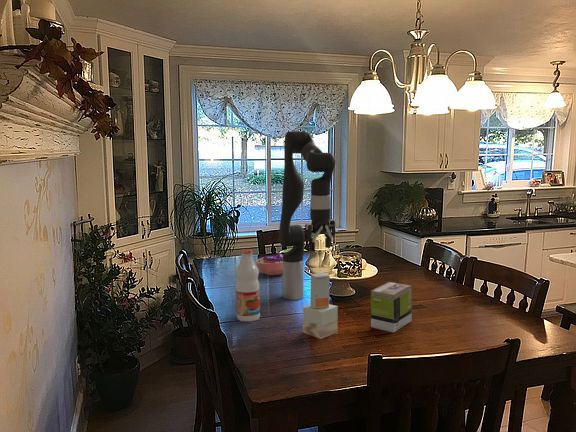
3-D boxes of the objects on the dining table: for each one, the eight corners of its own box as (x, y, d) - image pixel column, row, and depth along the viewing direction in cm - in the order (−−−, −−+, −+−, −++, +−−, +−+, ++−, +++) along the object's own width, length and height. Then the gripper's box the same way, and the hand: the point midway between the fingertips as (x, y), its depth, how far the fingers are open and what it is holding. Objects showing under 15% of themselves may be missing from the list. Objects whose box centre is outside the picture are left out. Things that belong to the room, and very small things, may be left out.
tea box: (388, 316, 194) (389, 280, 192) (412, 321, 188) (412, 285, 186) (369, 327, 183) (370, 289, 181) (394, 333, 177) (394, 294, 175)
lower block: (303, 332, 179) (302, 319, 178) (319, 326, 185) (319, 314, 184) (320, 339, 172) (320, 326, 172) (337, 333, 178) (337, 320, 178)
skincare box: (314, 309, 175) (314, 276, 173) (310, 305, 179) (310, 273, 177) (329, 307, 176) (329, 275, 175) (325, 304, 180) (325, 272, 179)
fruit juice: (245, 312, 201) (243, 246, 197) (264, 316, 197) (263, 248, 193) (232, 319, 193) (229, 251, 189) (251, 323, 189) (249, 253, 185)
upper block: (303, 320, 178) (303, 306, 178) (319, 313, 185) (319, 301, 184) (321, 325, 172) (321, 312, 171) (337, 319, 178) (337, 306, 178)
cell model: (251, 273, 266) (250, 253, 264) (284, 268, 274) (283, 249, 273) (262, 280, 251) (262, 259, 249) (297, 275, 259) (297, 255, 258)
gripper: (326, 204, 186) (325, 245, 189) (299, 207, 177) (299, 251, 180) (340, 206, 181) (340, 248, 184) (314, 210, 171) (313, 254, 174)
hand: (320, 249), depth 182 cm, fingers open, 8 cm apart
